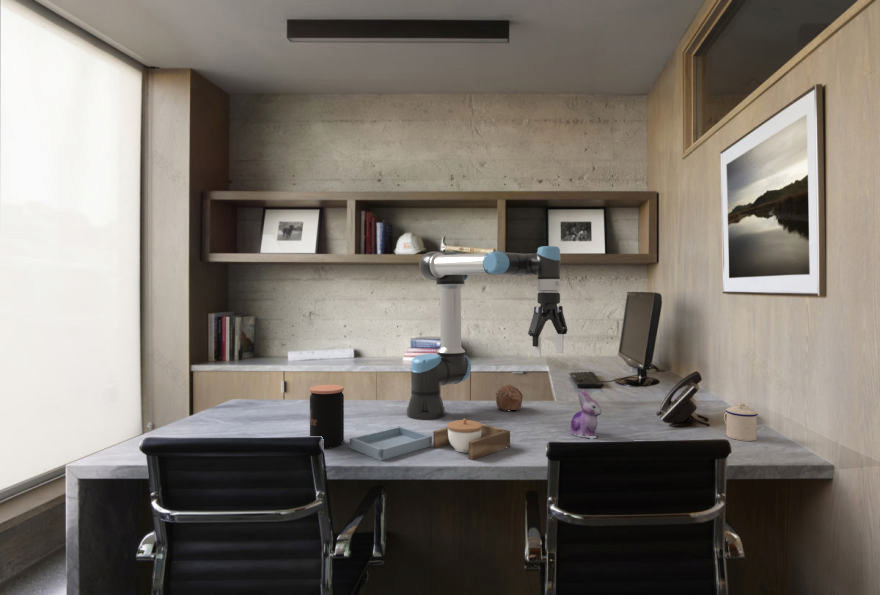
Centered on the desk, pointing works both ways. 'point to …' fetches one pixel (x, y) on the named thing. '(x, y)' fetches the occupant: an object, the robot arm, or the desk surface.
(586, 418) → the figurine
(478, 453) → the dock
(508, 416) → the desk surface
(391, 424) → the desk surface
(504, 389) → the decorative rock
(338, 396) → the coffee jar
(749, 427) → the teacup with lid
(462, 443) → the lidded jar
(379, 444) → the tray
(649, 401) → the desk surface
